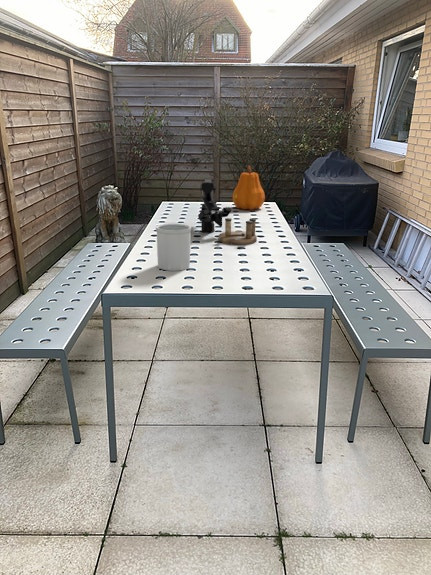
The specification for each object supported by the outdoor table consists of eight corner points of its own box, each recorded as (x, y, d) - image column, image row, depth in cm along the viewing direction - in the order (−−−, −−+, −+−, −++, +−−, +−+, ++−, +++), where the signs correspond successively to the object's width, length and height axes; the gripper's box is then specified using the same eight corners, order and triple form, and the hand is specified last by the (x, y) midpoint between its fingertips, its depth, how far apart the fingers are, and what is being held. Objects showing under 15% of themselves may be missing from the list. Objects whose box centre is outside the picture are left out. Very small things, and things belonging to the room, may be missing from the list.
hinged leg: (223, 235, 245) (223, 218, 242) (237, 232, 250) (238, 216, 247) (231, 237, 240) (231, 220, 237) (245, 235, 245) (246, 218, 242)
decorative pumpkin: (228, 205, 345) (229, 164, 335) (259, 205, 350) (261, 164, 339) (235, 211, 324) (236, 167, 314) (268, 210, 328) (270, 167, 318)
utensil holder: (173, 259, 211) (173, 221, 205) (198, 265, 202) (198, 226, 196) (149, 266, 200) (148, 226, 194) (174, 273, 191) (173, 232, 185)
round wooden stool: (211, 238, 249) (211, 217, 245) (240, 234, 260) (241, 214, 256) (234, 246, 233) (234, 224, 230) (264, 241, 244) (265, 220, 241)
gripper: (217, 209, 263) (228, 232, 258) (189, 213, 253) (200, 237, 248) (225, 197, 254) (237, 221, 249) (197, 200, 244) (209, 225, 239)
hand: (221, 226), depth 247 cm, fingers closed
